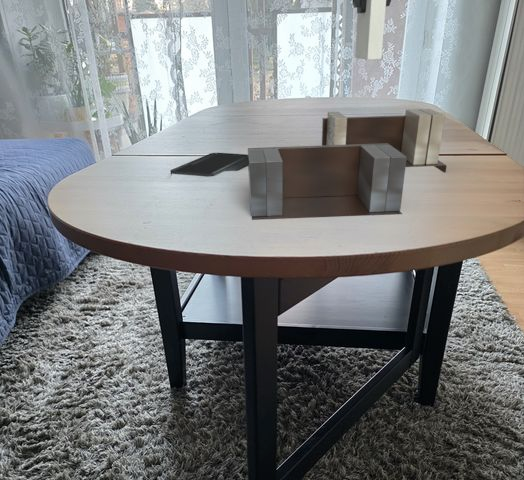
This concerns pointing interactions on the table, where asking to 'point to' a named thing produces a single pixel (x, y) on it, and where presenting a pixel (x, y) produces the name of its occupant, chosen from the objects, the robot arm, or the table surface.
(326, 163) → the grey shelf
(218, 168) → the phone
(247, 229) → the table surface
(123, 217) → the table surface
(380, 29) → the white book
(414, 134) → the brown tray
